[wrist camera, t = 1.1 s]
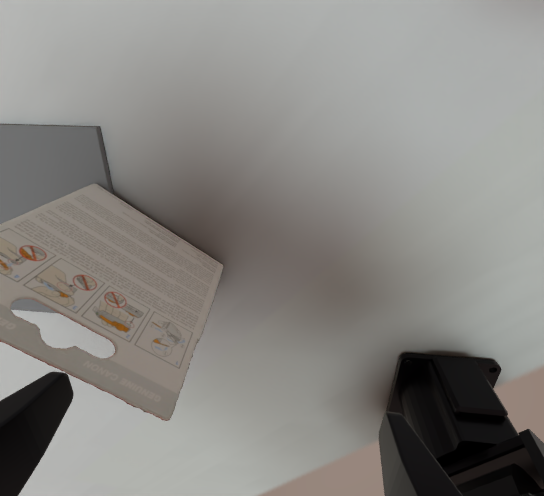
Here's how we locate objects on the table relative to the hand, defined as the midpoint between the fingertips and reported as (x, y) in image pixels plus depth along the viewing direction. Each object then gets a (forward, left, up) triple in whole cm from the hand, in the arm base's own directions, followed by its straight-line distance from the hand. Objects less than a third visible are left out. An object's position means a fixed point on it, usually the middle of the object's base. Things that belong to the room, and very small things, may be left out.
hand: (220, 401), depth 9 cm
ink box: (-1, +7, -12) cm, 14 cm away
